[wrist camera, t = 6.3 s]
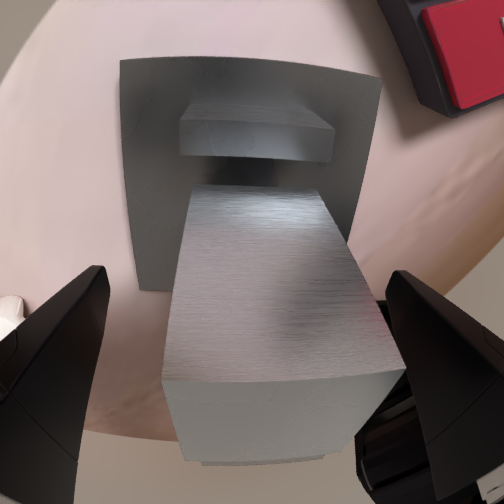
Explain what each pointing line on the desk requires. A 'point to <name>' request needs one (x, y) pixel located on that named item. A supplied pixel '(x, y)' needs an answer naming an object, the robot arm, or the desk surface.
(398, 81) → the desk surface
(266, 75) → the stand base
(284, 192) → the column
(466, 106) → the button control pad
